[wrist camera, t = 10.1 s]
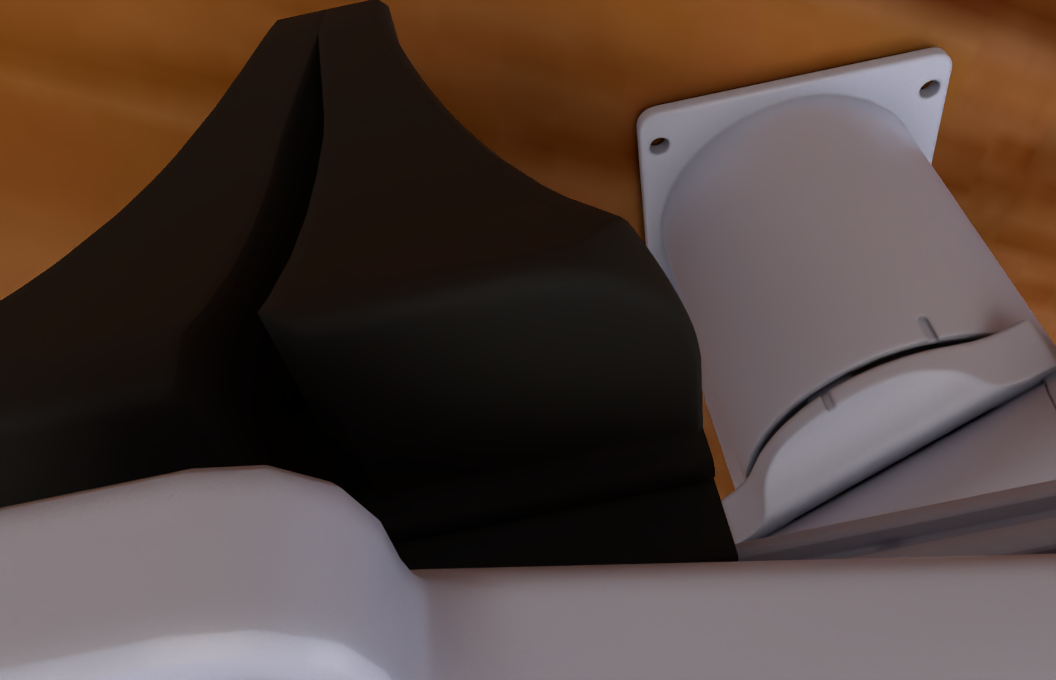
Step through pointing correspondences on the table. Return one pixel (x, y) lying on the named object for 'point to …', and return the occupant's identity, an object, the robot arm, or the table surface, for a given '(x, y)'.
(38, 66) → the table surface
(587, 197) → the table surface
